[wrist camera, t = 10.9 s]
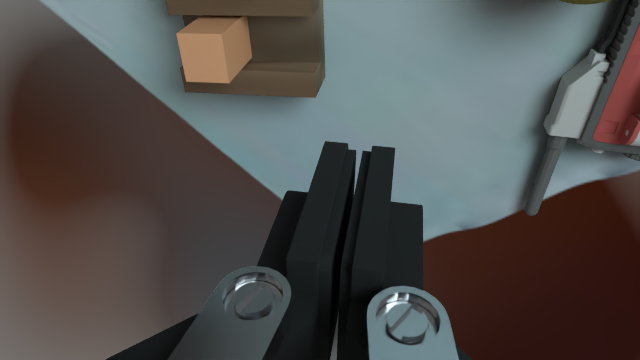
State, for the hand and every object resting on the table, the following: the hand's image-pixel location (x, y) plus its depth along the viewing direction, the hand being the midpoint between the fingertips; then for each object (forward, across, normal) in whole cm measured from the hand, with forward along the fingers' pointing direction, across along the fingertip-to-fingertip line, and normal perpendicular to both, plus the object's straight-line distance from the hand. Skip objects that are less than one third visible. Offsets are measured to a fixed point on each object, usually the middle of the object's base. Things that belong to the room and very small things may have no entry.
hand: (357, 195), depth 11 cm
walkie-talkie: (+25, -16, +8) cm, 31 cm away
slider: (+23, +12, +4) cm, 26 cm away
